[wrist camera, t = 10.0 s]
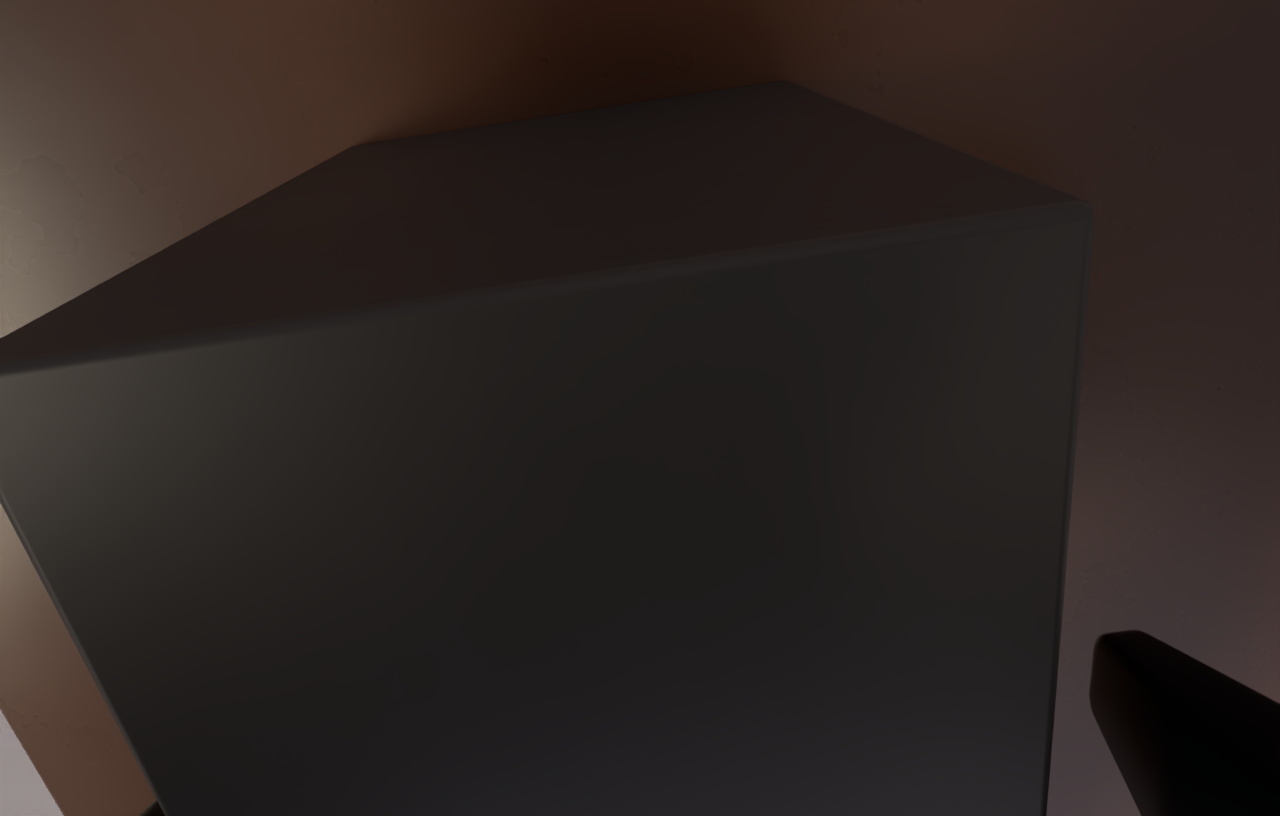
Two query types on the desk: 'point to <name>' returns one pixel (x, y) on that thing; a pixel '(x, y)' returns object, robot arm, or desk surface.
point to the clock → (577, 474)
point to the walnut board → (696, 63)
